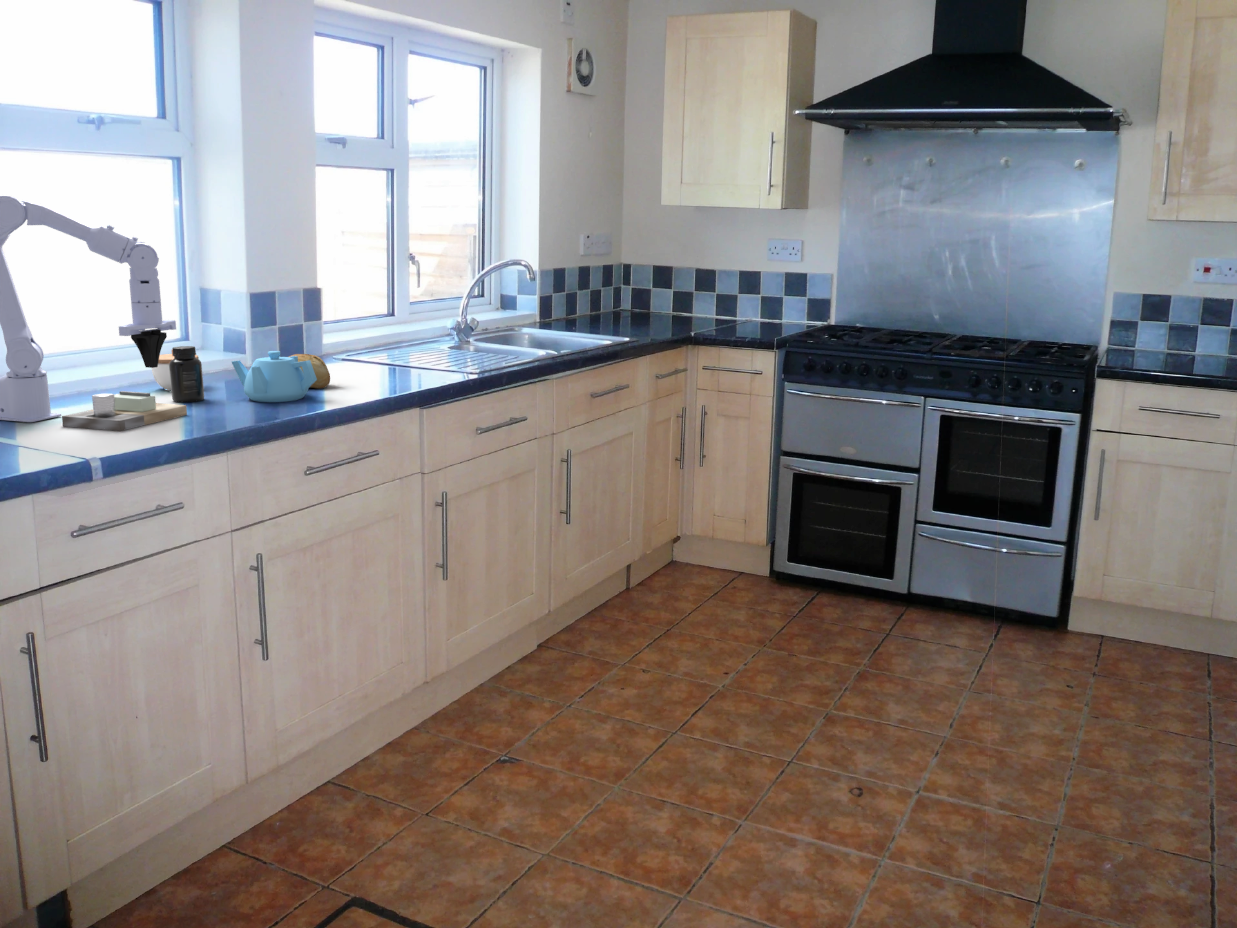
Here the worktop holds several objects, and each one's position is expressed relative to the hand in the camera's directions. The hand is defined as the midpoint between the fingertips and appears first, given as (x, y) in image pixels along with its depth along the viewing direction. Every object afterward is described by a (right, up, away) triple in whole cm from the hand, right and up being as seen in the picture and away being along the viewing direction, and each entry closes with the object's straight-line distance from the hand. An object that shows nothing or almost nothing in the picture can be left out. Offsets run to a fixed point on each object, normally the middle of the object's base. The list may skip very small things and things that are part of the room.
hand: (151, 367), depth 235 cm
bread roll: (+21, -2, +37) cm, 43 cm away
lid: (-1, -9, -7) cm, 12 cm away
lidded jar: (-7, -3, +32) cm, 33 cm away
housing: (-2, -11, -8) cm, 14 cm away
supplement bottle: (+2, -6, +16) cm, 17 cm away
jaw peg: (-3, -13, -13) cm, 19 cm away
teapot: (+20, -6, +20) cm, 29 cm away
